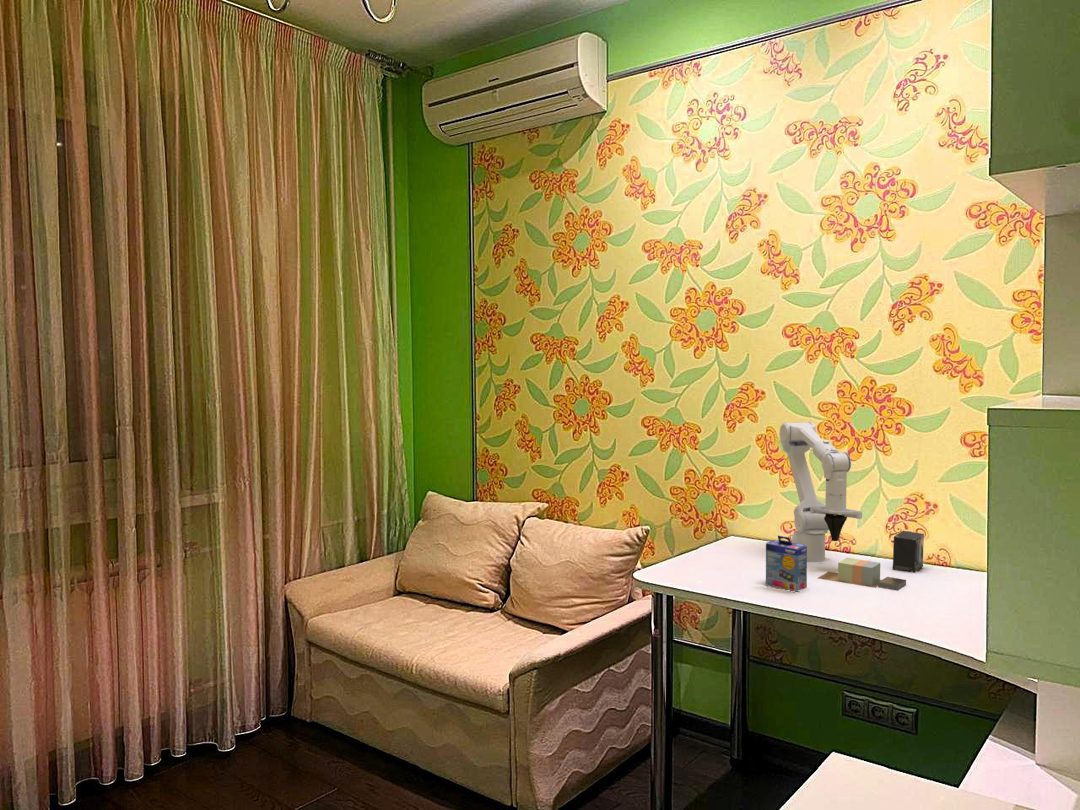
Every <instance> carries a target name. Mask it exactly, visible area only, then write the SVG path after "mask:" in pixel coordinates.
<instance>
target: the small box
mask: <svg viewBox="0 0 1080 810" xmlns="http://www.w3.org/2000/svg"><path fill="white" fill-rule="evenodd" d="M924 537H925V534H924V533H921V532H920V533H919V532H914V531H907V530H902V531H900V532H899V533H897V534H895V535H894V536H893V546H892V548H893V549H892V551H893V554H892V569H891V570H893V571H898V572H904V573H911V574H915V573H916V572H917V573H918V572H920V570H922V569H923V568H924V547H925V546H924V542H925V540H924ZM922 567H923V568H922Z"/></svg>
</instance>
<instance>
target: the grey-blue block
mask: <svg viewBox="0 0 1080 810" xmlns="http://www.w3.org/2000/svg"><path fill="white" fill-rule="evenodd" d="M880 580H881V562H877V561H871V562H869V563H867V564H866V565H864V566H862V584H863V585H869V586H873V585H874V584H876V583H877V582H879V581H880Z"/></svg>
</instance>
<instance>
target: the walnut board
mask: <svg viewBox="0 0 1080 810" xmlns="http://www.w3.org/2000/svg"><path fill="white" fill-rule="evenodd" d="M817 579H818V580H819V579H820V580H825V581H832V582H837V583H842V584H849V585H850V584H851V585H855V586H856V585H857V586H861V587H867V588H874V589H876V588H879V587H878V582H877V583H876V584H874V585H873V586H869V585H863V584H856V583H851V582H845V581H839V580H838V572H834V571H827V572H825V573H823V574H821V575H819V577H817ZM881 580H882V579H880V581H881Z"/></svg>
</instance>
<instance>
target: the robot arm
mask: <svg viewBox="0 0 1080 810" xmlns="http://www.w3.org/2000/svg"><path fill="white" fill-rule="evenodd" d="M778 434H779V435H778V436H779V439H780V443H781V447H782V450H783V451H784V452H785V453H786V454H787V458H788V462H789V466H790V469H791V474H792V477H793V481H794V484H795V488H796V492H797V496H798V500H799V503H798V504H797V505H796V507H794V510H793V516H794V520H793V521H794V526H795V528H796V530H794V532H793V534H792V536H791V543H796V544H802V545H806V546H807V563H812V564H818V565H819V564H823V563H825V562H827V561H829V560H830V558H829V557H826V534H828V533H829V534H830V538H831V541H832V542H838V541H839V540H840V535H841V532H842V530H843V527H844V525H845V522H846V521H847V519H848V518H851V519H856V520H862V518H863V511H861V510H853V509H849V508H847V481H848V480H847V478H848V477H847V476H848V474H847V473H848V472H850V470H851V469H852V459H851V457H850V455H849V453H848V452H847V451H843V452H842V451H839V450H838V449H837V448H836V447H835V446H834V445H833V444H831V442H830V440H828V439H822V438H821V437H820V435H819V434H818V433H817V429H816V425H814V423H813V422H812V421H808V422H782V424H781V425H780V429H779V433H778ZM811 448H812V453H813V455H814V456H815V458H817V459H818V461H820V462H821V465H822V467H821V468H822V470H823V476H824V477H823V478H824V479H825V502H822V501H820V500H819V499H818V498H817V495H816V491H815V487H814V484H813V480H812V477H811V473H810V470H809V466H808V461H807V459H806V455H805V454H806V453H807V452H809V451H811ZM828 531H829V532H828Z"/></svg>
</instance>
